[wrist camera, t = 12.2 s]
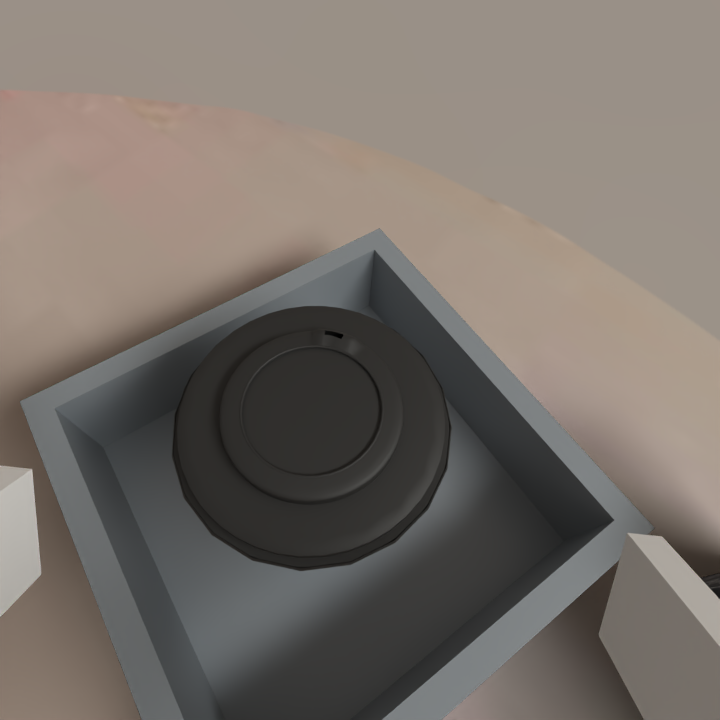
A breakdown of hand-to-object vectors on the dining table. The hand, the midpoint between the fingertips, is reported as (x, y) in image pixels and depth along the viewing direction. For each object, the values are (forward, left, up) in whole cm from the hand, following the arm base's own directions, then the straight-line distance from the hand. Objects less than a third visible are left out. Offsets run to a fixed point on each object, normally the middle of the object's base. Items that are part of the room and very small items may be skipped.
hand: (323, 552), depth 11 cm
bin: (-3, +2, -12) cm, 12 cm away
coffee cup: (-4, +2, -11) cm, 11 cm away
